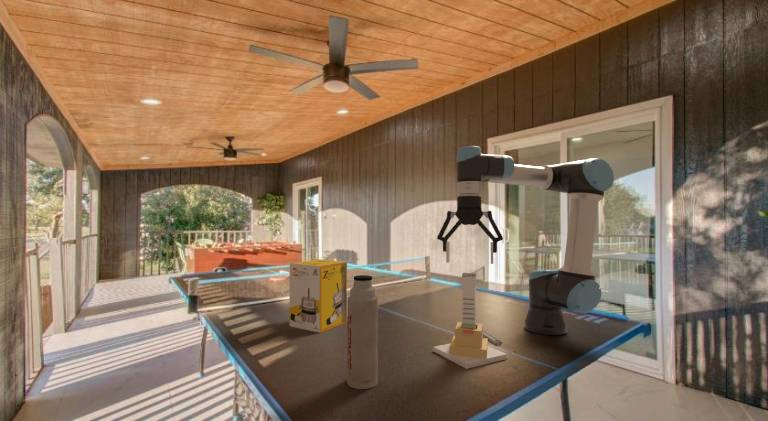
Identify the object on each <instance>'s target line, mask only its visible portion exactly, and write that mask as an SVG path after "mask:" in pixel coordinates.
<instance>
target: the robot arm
mask: <svg viewBox="0 0 768 421" xmlns="http://www.w3.org/2000/svg"><path fill="white" fill-rule="evenodd" d="M455 162H456V194H457V195H458V196H457V197H456V207H457V208H456V211H451V210H447V212H446V219H445V220H444V221H443V225H442V226H441V228H440V229H439V233H438V234H437V236H436V239H437V240H439V241H441V242H442V251H443V253H445V254H446V256H445V260H446V263H450V262H451V259H450V258H451V255H450V254H451V252H450V251H451V247H450V245H451V244H450V242H451V241H448V240H449V239H450V238H451V237H452V235H453V234H454V233H455V232H456V231H457V230H458V228H460V226H461V225H464V226H468V225H470V226H475V225H478V226H479V227H480V228H481V230H482V231H483V232H484V233H485V234H486V235H487V237H488V238H489V239H490V240H491V241H490V264H491V265H494V253H495V254H497V253H498V243H499V242H500V241H503V240H504V237H503V235H502V233H501V232H500V230H499V228H498V226H497V224H496V222H495V220H494V218H493V212H492V211H491V210H488V211H483V210H482V196H480V195H481V194H482V183H491V184H493V183H494V184H503V185H516V186H526V187H535V188H537V189H539V190H541V191H550V192H556V193H557V192H558V193H564V194H566V195H567V197H568V198H569V199H570V200H571V201H570V207H569V218H568V226H567V227H568V228H567V234H566V235H567V237H566V245H565V252H564V259H563V261H564V262H563V266H561V267H560V268H559V269H536V270H535V269H534V270H530V272H529V278H528V302H529V303H528V304H529V305H528V307H529V308H528V311H527V314H526V318H525V320H524V329H525V330H527V331H528V332H530V333H531V332H532V333H535V334H540V335H547V336H561V335H562V336H563V335H565V334H567V333H568V325H567V323H566V320H565V315H564V313H563V309H566V310H568V311H571V312H576V313H581V314H587V313H590V312H592V311H594V309H596V308H597V307H598V305H599V303H600V302H601V301H600V300H601V298H602V289H601V287H600V284H599V283H598V282H596V280H595V279H596V274H595V273H594V272H593V271H592V262H593V254H594V253H593V252H594V245H595V244H594V242H595V234H596V226H597V225H596V224H597V219H598V218H597V217H598V216H597V215H598V208H599V207H598V206H599V202H600V201H602V200H604V197H605V192H606V191H608V190H610V189H611V187H613V184H614V183H615V182H614V181H615V175H614V170H613V168H612V167H611V166H610V164H609V163H608V162H607V161H606V160H604V159H603V158H600V157H599V158H598V157H597V158H596V157H595V158H586V159H582V160H581V159H580V160H576V161H570V162H569V161H568V162H564V163H563V162H562V163H558V164H551V165H549V164H542V165H540V166H533V165H526V164H525V165H524V164H516V163H515V160H514V158H513V157H512V156H510V155H505V154H487V153H486V154H484V153H482V149H481V147H480V146H476V145H467V146H466V145H465V146H461V147H459V148H457V151H456V161H455ZM455 216H456V218H457V219H458V220H457V221H456V223H455V224H454V225H453V226H452V228H451V229H450V230H449V231H448V232H447V233H446V234H445V232H446V230H447V228H448V226H449V224H450V222H451V220H452V219H453V218H454V217H455ZM483 216H484V217H485V218H487V219H488V221H489V223H490V225H491V227H492V228H493V230H494V232H495V234H496V236H494V234H493V233H492V232H491V231H490V230H489V229H488V227H487V226H486V225H485V224H484V223H483V221H481V218H482V217H483ZM444 234H445V236H444Z"/></svg>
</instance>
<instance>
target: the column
mask: <svg viewBox="0 0 768 421" xmlns="http://www.w3.org/2000/svg"><path fill="white" fill-rule="evenodd" d="M461 312H462V313H461V319H462V320H461V322H462V328H467V329H476V323H477V273H476V272H462V274H461Z"/></svg>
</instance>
